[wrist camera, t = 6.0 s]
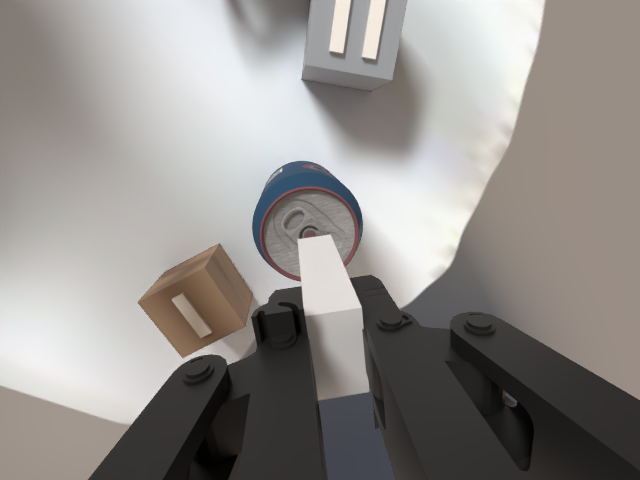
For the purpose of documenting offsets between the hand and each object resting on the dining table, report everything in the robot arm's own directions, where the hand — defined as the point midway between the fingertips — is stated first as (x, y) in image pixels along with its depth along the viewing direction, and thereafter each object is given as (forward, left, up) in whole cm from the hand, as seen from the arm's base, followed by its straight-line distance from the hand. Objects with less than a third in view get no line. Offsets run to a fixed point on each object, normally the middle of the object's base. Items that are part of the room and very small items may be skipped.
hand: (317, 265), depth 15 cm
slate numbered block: (+5, +12, -16) cm, 21 cm away
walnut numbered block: (-10, -7, -16) cm, 20 cm away
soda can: (0, 0, -16) cm, 16 cm away
